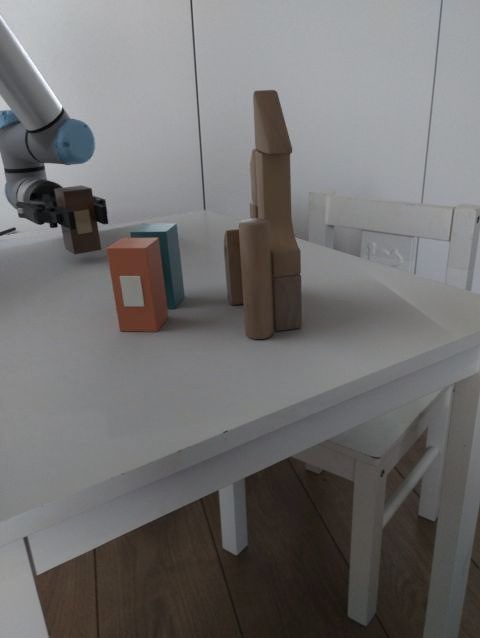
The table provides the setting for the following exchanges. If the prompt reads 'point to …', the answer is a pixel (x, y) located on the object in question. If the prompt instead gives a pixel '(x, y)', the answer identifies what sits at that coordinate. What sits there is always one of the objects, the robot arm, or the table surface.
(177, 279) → the teal letter block
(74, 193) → the walnut letter block
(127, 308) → the terracotta letter block
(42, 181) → the robot arm
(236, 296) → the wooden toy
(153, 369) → the table surface
